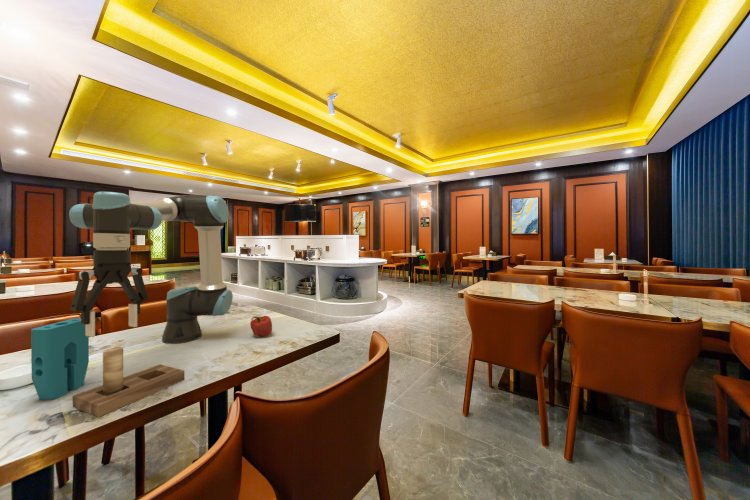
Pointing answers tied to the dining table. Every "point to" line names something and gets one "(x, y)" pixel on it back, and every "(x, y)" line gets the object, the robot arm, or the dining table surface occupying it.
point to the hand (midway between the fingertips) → (112, 330)
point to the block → (59, 358)
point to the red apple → (261, 326)
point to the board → (128, 390)
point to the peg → (112, 371)
